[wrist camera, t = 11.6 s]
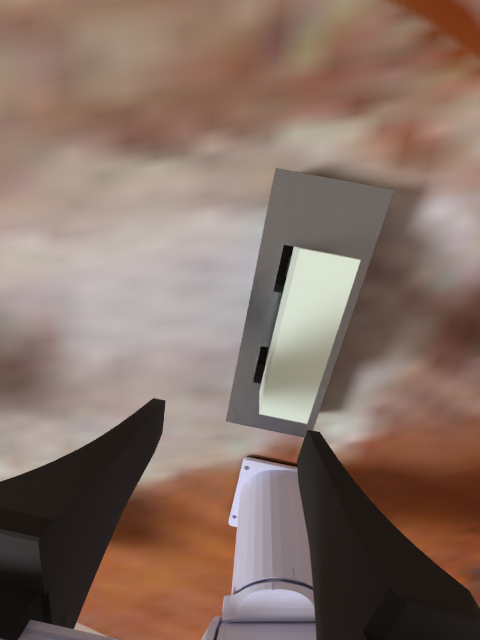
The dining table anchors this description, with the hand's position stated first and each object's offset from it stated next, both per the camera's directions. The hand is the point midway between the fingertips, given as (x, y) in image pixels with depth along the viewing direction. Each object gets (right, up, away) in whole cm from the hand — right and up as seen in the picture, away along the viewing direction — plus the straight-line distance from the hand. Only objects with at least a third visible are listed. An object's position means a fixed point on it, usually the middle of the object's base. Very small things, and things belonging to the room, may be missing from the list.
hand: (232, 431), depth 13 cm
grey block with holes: (+4, +6, +7) cm, 11 cm away
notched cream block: (+4, +6, +8) cm, 11 cm away
